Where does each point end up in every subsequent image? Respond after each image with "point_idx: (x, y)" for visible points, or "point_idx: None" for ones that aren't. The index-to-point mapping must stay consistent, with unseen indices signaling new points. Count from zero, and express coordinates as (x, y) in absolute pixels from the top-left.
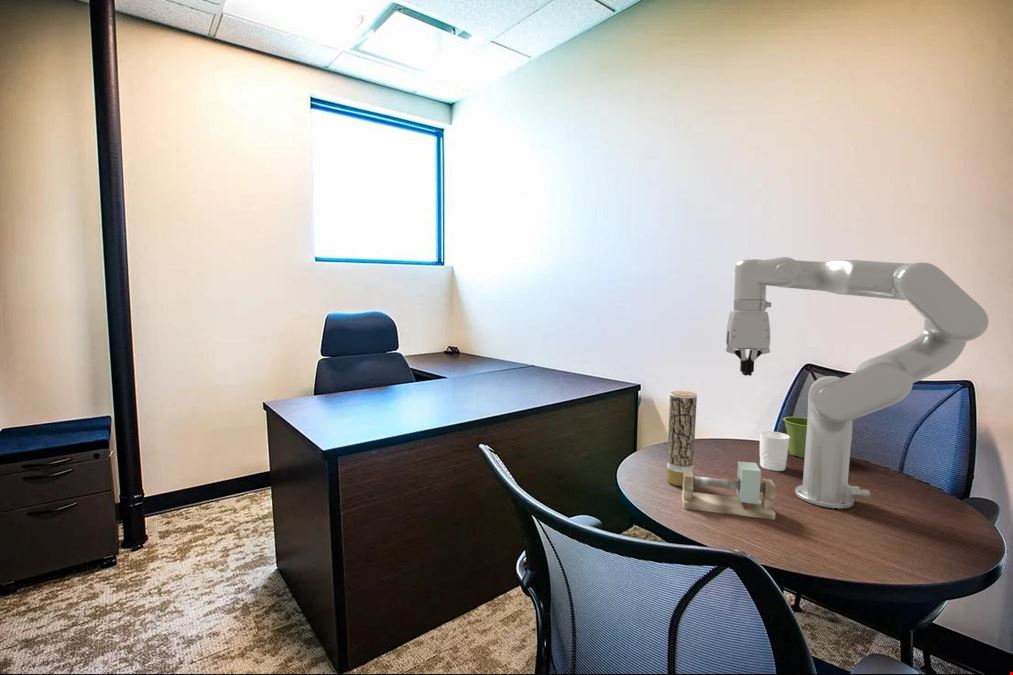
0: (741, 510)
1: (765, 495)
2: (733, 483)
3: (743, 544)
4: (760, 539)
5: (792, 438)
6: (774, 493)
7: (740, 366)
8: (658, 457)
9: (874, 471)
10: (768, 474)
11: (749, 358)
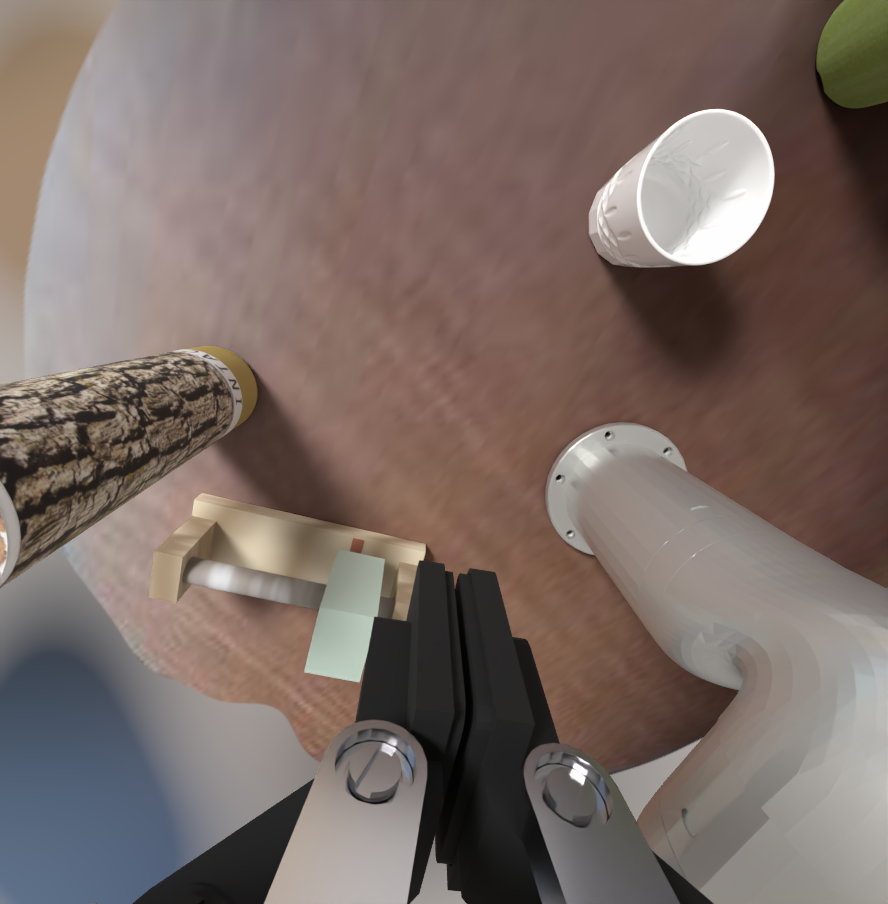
0: None
1: None
2: (304, 606)
3: (283, 704)
4: (328, 686)
5: (878, 25)
6: None
7: (367, 658)
8: (184, 94)
9: None
10: (568, 300)
11: (463, 898)
